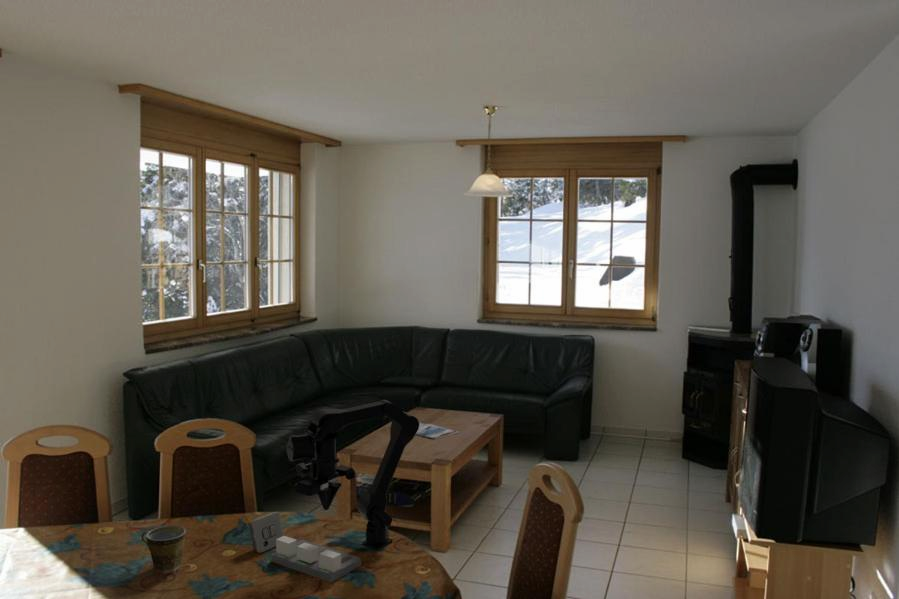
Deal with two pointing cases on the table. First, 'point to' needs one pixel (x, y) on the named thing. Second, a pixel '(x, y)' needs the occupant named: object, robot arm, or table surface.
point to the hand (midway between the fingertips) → (326, 509)
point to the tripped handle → (307, 552)
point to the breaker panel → (324, 568)
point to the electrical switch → (265, 531)
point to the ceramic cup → (165, 547)
